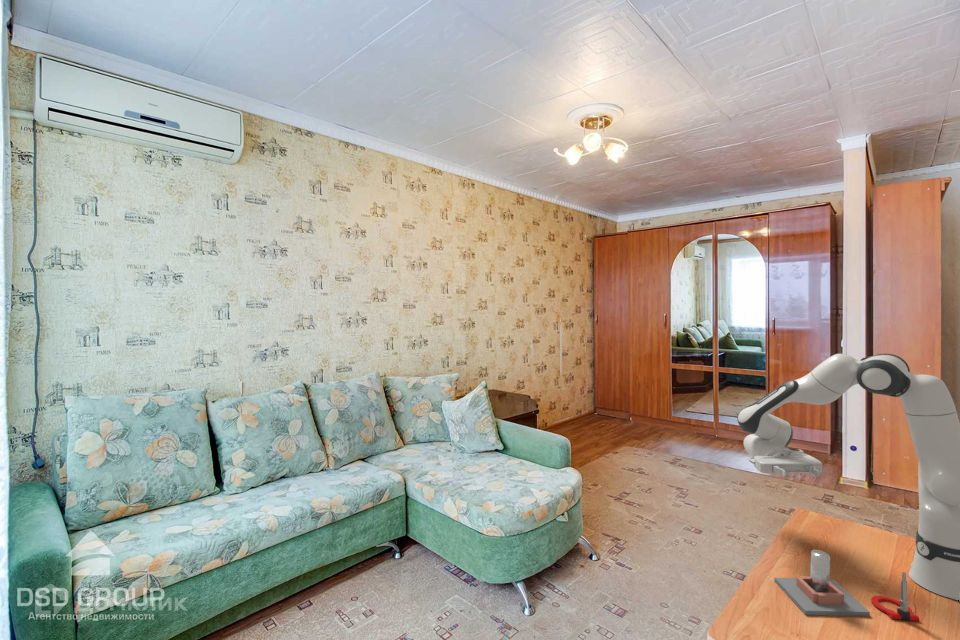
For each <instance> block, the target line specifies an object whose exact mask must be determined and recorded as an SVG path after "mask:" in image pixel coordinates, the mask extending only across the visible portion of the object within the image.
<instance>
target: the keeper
mask: <svg viewBox="0 0 960 640" xmlns="http://www.w3.org/2000/svg"><path fill="white" fill-rule="evenodd" d="M773 579H774V582H775V584H776V585H777V586H778V588H780V589H781V590H782V591H783V593H785V595H787V597H788V598H789V599H790V600H791V601H792V602H793V603H794V605H795V606H796V607H797V608H798V609H799V610H800V611H801V612H802V613H803V614H804V616H805V615H806V616H807V615H808V616H836V617H837V616H841V617H843V616H844V617H845V616H846V617H848V616H849V617H850V616H851V617H870V616H871V615H870V614H871V613H870V612H871V611H869V610H868V609H867V608H866V607H865V606H864V605H863V604H862V603H860V602H859V600H857V599H856V598H855V597H854V596H852V595H851V594H850V593H849V592H848V591H847V590H846V589H845V588H843V586H842V585H840V584H839V583H838V582H837V581H835V579H833V578H830V580H829V593H816V592H815V591H814V590H813V589H812V588H811V587H810V576H809V575H808V576H807V575H799V577H798V576H797V577H774V578H773Z"/></svg>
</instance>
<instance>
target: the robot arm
mask: <svg viewBox="0 0 960 640" xmlns="http://www.w3.org/2000/svg"><path fill="white" fill-rule="evenodd" d="M910 370H911V369H910V366H909V364H908V363H907V362H906V361H905V360H904V358H902V357H900V356H898V355H896V354H891V353H879V354H874V355H871V356H866V357H862V358H861V359H860V360H858V359H856V358H854V357H853V356H851V355H848V354H845V353H835V354H833V355H831V356H829V357H828V358H826V359H825V360H824V361H822V362H821V363H819V364H818V365H817V366H815V367H814V368H813V369H812V370H811V371H810V372H809V373H807V374H805V375H804V376H802V377H800V378H796V379H794V380H788V381H785V382H783V383H782V384H780V385H778V386H777V387H775V388H774V389H773V390H771V391H769V392H768V393H767V394H765V395H764V396H762V397H761V398H759V399H758V400H756V401H755V402H753V403H752V404H749V405H747V406H745V407H743V408H742V409H740V411H739V413H737V414H738V415H737V423H738V425H739V429H741V431H743V432H745V433H748V435H746V436H745V437H744V439H743V448H744V450H745V452H746V453H748V455H749V456H751V457H750V458H748V462H750V463H751V464H752V465H753V467H754V468H755V469H756V470H757V471H758V472H759V473H762V474H777V475H780V476H783V477H790V474H810V475H811V476H813V477H820V474H822V472H823V463H822V461H820V460H819V459H818V458H815V457H814V456H812V455H810V454H807V453H804V452H805V451H804V450H802V449H799V448H798V449H797V448H791V447H788V446H789V445H790V444H791V442H792V440H793V436H794V431H793V428H792V425H791V423H790V422H788V421H787V420H784V419H782V418H780V417H778V416H775V415H774V414H772V412H774V411H775V410H777V409H778V408H780V407H781V406H783V405H784V404H785V405H786V404H788V403H802V404H803V403H804V404H809V405H816V406H819V405H821V406H822V405H823V406H824V405H829V404H832V403H834V402H835V401H837V400H838V399H839V398H840V397H841V396H843V395H844V394H845V393H846V392H847V391H848V390H849V389H851V388H853V386H855V385H859V386H860V387H861V388H862V389H863V390H865V391H867V392H868V393H872V394H877V395H883V396H888V397H894V398H898V397H899V399H900V401H901V403H902V406H903V411H904V414H905V415H904V416H905V418H906V423H907V426H908V430H909V434H910V438H911V440H912V444H913V447H914V451H915V453H916V457H917V458H916V459H917V461H918V466H917V467H918V469H917V472H918V473H917V475H918V476H917V477H918V478H917V479H918V481H917V485H918V486H917V487H918V507H919V508H918V530H916V533H915V546H916V547H915V551H914V556H913V560H912V562H911V564H910V569H909V571H908V576H909V578H910V579H911V580H912V581H913V582H915V583H916V585H918V586H921V587H922V588H924V589H926V590H928V591H929V592H931V593H934V594H937V595H940V596H941V597H945V598H948V599H949V598H950V599H952V600H956V601H958V600H959V601H958V602H960V420H959V416H958V415H959V414H958V412H957V408H956V405H955V402H954V399H953V397H952V395H951V392H950V391H949V389H948V387H947V385H946V383H945V382H944V380H943V379H941V378H939V377H937V376H935V375H932V374H923V373H922V374H915V373H912V372H910Z"/></svg>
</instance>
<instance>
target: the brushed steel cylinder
mask: <svg viewBox="0 0 960 640" xmlns="http://www.w3.org/2000/svg"><path fill="white" fill-rule="evenodd" d="M830 572H831V555H830V554H829V553H828V552H826V551H823V550H820V549H812V550H811V551H810V587H811V588H812V589H813V590H814V591H815V592H816V593H829V580H830V579H831V577H830V576H831V575H830V574H831V573H830Z"/></svg>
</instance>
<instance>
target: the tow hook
mask: <svg viewBox="0 0 960 640" xmlns="http://www.w3.org/2000/svg"><path fill="white" fill-rule="evenodd" d="M901 577H902V578H901V579H900V599H895V598H894V597H893V598H892V597H889V596H886V595H885V596H884V595H874V596H872V597H871V599H870V600H871V603H872V606H874V607H875V608H876V609H878V610H880V611H881V612H883V613H885V614H887V616H888V617H889V619H891V620H900V621H907V622H908V621H913V622H915V621H916V622H920V617H919V615H918V614H914V612H913V611H912V609H911V607H909V606H908V605H909V602H908V581H907V572H904V571H902V572H901ZM880 602H887V603H890V604H893V605H896V606H898V607H897V609H896V611H894V610H893V609H889V608H887V607H886V606H883V605H882V604H881V603H880Z"/></svg>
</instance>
